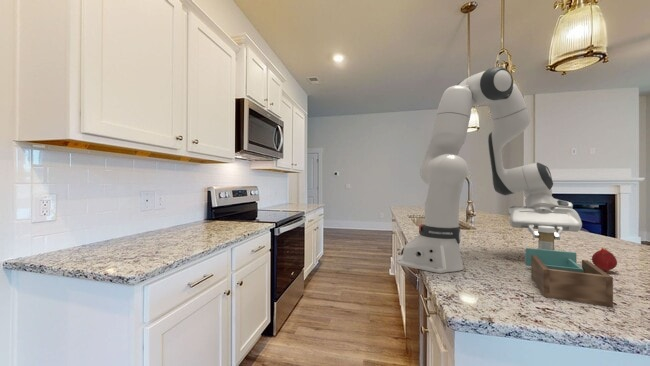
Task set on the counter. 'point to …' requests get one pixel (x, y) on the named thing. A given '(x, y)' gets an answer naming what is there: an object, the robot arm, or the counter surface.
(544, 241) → the pill bottle
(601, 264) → the onion
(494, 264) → the counter surface
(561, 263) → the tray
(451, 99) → the robot arm
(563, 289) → the open wooden box
